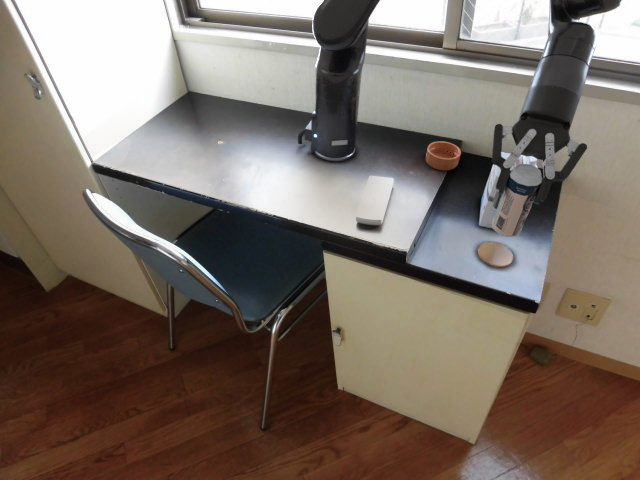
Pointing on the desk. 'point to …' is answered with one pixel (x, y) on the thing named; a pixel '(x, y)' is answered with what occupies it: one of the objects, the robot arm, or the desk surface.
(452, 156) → the terracotta bowl
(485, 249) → the coaster
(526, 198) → the cylindrical canister
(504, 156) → the ink box
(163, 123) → the desk surface
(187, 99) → the desk surface
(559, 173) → the robot arm
